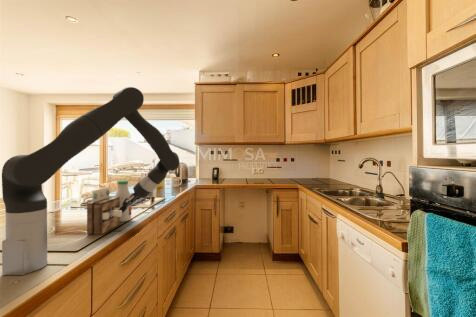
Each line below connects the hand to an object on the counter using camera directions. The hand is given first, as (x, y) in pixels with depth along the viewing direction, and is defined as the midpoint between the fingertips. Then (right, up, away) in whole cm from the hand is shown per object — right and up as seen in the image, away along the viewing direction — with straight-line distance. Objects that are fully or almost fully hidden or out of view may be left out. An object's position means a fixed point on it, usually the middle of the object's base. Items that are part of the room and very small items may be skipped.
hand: (120, 211), depth 113 cm
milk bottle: (-4, -7, +10) cm, 13 cm away
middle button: (0, -1, -5) cm, 5 cm away
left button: (-4, -1, -9) cm, 10 cm away
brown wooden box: (-5, -7, -4) cm, 9 cm away
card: (-6, +6, -5) cm, 10 cm away
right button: (-3, -1, 0) cm, 3 cm away
